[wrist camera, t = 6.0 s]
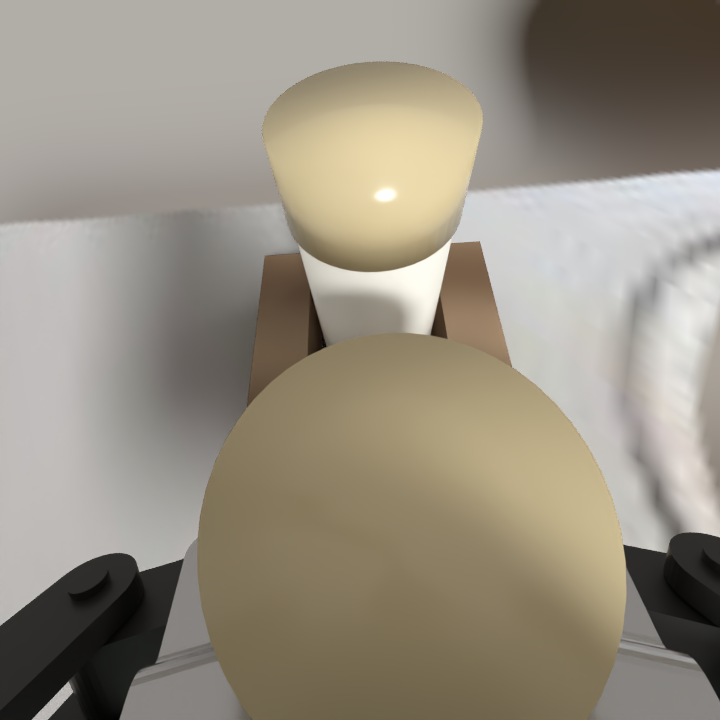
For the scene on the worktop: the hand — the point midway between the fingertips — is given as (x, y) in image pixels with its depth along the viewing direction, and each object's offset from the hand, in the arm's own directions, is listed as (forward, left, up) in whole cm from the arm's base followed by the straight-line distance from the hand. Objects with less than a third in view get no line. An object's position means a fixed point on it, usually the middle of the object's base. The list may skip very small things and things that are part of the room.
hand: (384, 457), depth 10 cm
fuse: (-4, +4, -6) cm, 8 cm away
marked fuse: (+1, -1, -6) cm, 6 cm away
